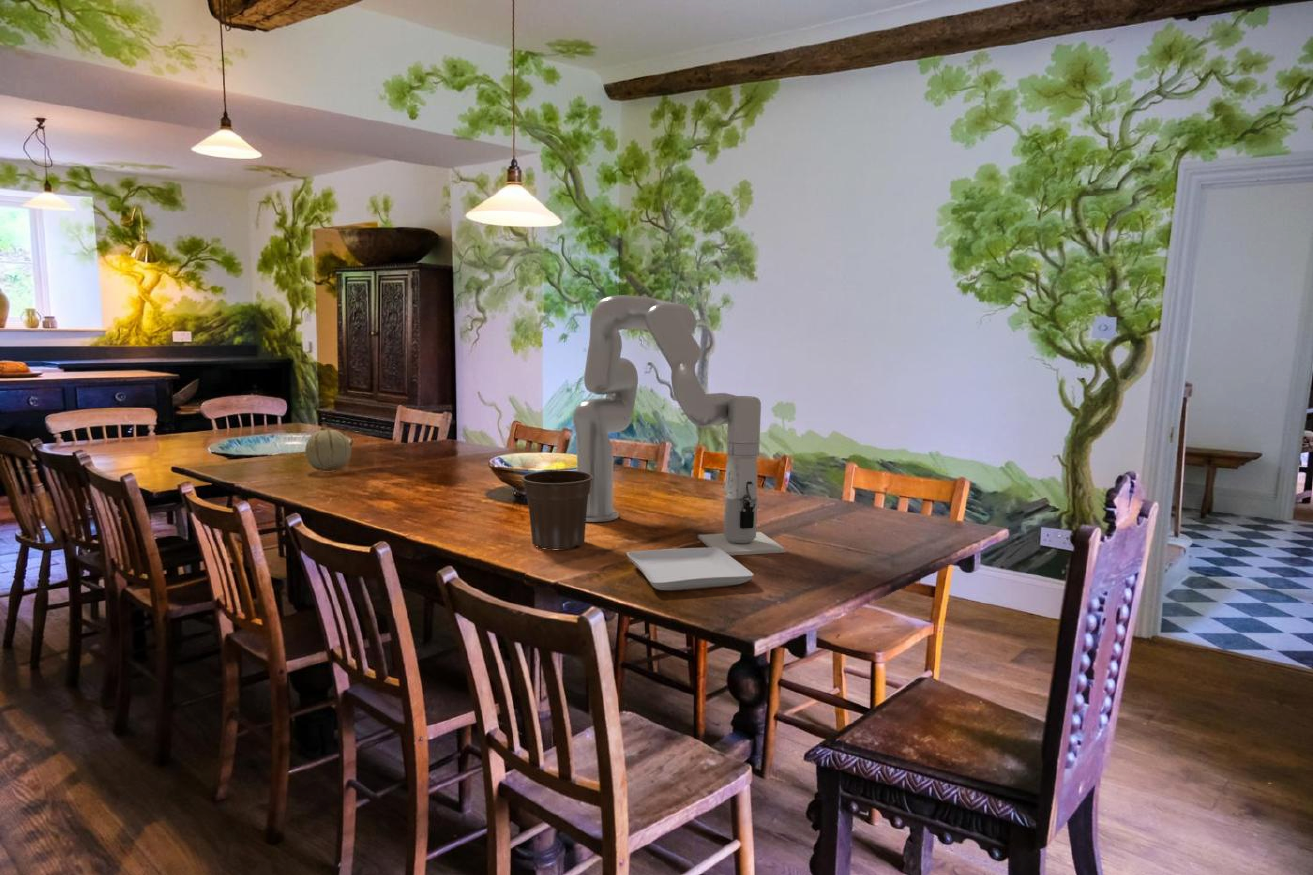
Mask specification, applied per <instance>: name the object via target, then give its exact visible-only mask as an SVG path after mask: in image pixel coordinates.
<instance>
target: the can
mask: <svg viewBox="0 0 1313 875" xmlns="http://www.w3.org/2000/svg"><path fill="white" fill-rule="evenodd" d="M728 491H729V493H728V494H726V495H725V497H724V499H725V500H724V520H723V522H724V524H723V525H724V527H723V534H724V536H725V537H726V538H727V540H729V541H731V542H735V543H748V542H751V541H752V540H753V539H755V538H756V532H757V525H758V524H757V520H758V519H757V518H758V517H757V516H758V495H757V496H756V498H757V499H756V502H755V511H754V527H753V528H748V529H741V528H740V511H742V508H741V499H739V500H735V499H734V498H733V497H732V495H731V493H732V492H731V491H730V490H728ZM743 498H749V496H743ZM744 502H745V505H746V503H747V502H749V501H744Z"/></svg>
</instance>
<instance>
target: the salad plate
mask: <svg viewBox="0 0 1313 875" xmlns="http://www.w3.org/2000/svg"><path fill="white" fill-rule="evenodd" d="M626 555H627V557H628V559H629V560H630V561H631V563H633V565H635V566H636V568H637V569H639V571H641V573H642V574H643V575H644V577H645V578H646V579H647V580H648V582H649V583H650V585H651V586H652V587H653V588H655V589H657V590H659V591H683V590H684V589H685V590H696V589H708V588H719V587H720V588H721V587H730V586H736V585H740V584H744V583H746V582H748V581H751V579H752V578H753V577H754V573H753V572H752V571H751V570H749V569H748V568H747V567H745V566H744V565H743V564H741V563H740V562H739V561H738V560H736V559H735V558H733V557H732V555H730V556H729V555H728V554H727V553H726V552H724V551H723V550H722V549H720V548H717V547H710V548H709V547H688V548H687V547H686V548H685V547H683V548H668V549H665V548H663V549H652V550H651V549H650V550H637V551H627V552H626Z"/></svg>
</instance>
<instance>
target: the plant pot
mask: <svg viewBox="0 0 1313 875" xmlns="http://www.w3.org/2000/svg"><path fill="white" fill-rule="evenodd" d="M592 479H593V476H592V475H591V474H589V473H585V472H580V471H577V470H568V469H566V470H564V469H563V470H561V469H560V470H544V471H536V472H535V471H534V472H530V473H526V474H523V475H522V476H521V481H522V482H523V485H524V486H523V487H524V492H525V496H526V500H527V506H528V516H529V523H530V524H529V525H530V533H531V542H532V545H533V544H534V545H535V546H538V548H541V547H542V548H546V549H565V550H570V548H572V549H575V547H581V546H583V545H584V544H585V538H586V537H585V536H586V525H587V524H586V523H587V522H586V514H587V502H588V494H589V493H590V483H591V480H592ZM534 545H533V546H534ZM535 546H534V547H535ZM539 546H540V547H539ZM542 548H541V549H542ZM546 549H545V550H546Z"/></svg>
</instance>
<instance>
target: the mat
mask: <svg viewBox="0 0 1313 875" xmlns="http://www.w3.org/2000/svg"><path fill="white" fill-rule="evenodd" d="M697 535H698V536H697V537H698V539H699V540H700V541H701V543H703V544H704V545H706V546H707V548H710V547H717V548H720V549H722V550H723V551H724V552H726V553H727V554H728V555H729V556H745V555H746V556H747V555H762V554H763V555H764V554H780V553H787V552H786V551H787V549H786V548H785V547H784V546H782V545H781V544H779V543H778V542H776V541H775V540H773V539H772V538H770V537H768V536H767V535H766V534H764V533H763V532H761V531H756V538H755V539H753V540H752V541H751V542H748V543H735V542H731V541H729V540H727V538H726V537H725V536H724V533H709V534H708V533H707V534H706V533H705V534H697Z"/></svg>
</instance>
